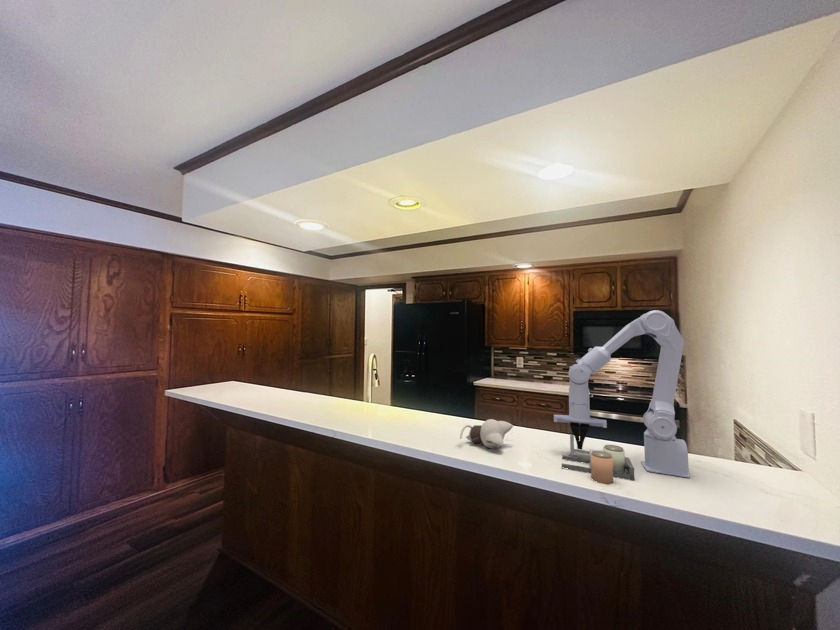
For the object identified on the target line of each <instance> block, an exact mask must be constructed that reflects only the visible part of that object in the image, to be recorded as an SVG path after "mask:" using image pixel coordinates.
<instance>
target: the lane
mask: <svg viewBox="0 0 840 630" xmlns="http://www.w3.org/2000/svg"><path fill="white" fill-rule="evenodd" d="M561 457H562V460H563V459H567V460H566V461H569V460H572V461H571V462H575V461H577V462H576V463H581V462H583V464H588V463H590V458H586V457H578V456H571V455H564V454H562V456H561ZM562 467H564V468H568V469H567V470H569V469H572V470H571V471H575V470H578V471H577V472H581V471H583V472H582V473H587V472H589V473H588V474H591V467H587V466H586V467H585V466H582V465H581V466H580V465H575V464H569V463H563V462H562V463H561V468H562ZM625 469H626V470H625V474H624V473H618V472H613V478H617V477H619V478H618V479H623V478H624V479H623V480H628V479H630V480H629V481H634V480H635V477H636V476H635V467H634V465H633V463H632V461H631V459H630V458H629V457H626V456H625Z"/></svg>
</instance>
